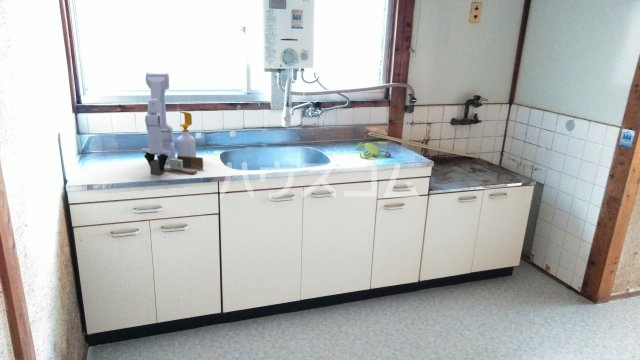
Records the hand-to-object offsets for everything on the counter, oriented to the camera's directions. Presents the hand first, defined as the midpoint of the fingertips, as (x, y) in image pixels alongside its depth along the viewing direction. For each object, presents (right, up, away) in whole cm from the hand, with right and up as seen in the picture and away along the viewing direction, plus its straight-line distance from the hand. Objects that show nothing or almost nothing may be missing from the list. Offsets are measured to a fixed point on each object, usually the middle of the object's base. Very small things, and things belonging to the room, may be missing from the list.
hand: (157, 169), depth 210 cm
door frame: (+9, 0, +7) cm, 11 cm away
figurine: (+105, +10, +51) cm, 117 cm away
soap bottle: (+6, +6, +26) cm, 28 cm away
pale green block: (+8, 0, +4) cm, 8 cm away
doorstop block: (0, -2, +1) cm, 2 cm away
